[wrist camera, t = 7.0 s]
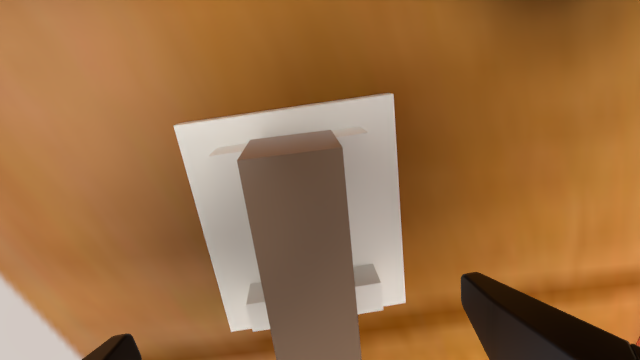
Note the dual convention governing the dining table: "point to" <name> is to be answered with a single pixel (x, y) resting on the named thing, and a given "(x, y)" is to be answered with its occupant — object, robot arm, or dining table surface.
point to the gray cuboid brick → (303, 243)
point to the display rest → (361, 186)
